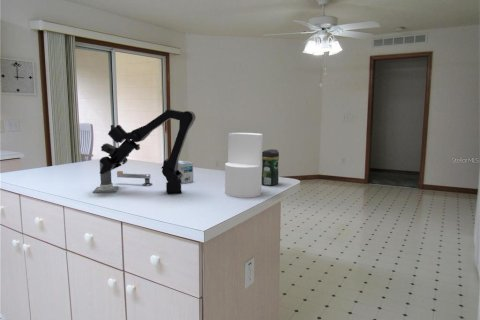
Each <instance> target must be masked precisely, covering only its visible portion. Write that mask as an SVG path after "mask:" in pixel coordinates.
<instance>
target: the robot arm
mask: <svg viewBox="0 0 480 320" xmlns="http://www.w3.org/2000/svg"><path fill="white" fill-rule="evenodd" d="M196 117H197V116H196V114H195V113H194V112H193V111H190V110H186V111H180V110H174V109H172V108H168V109H166V110H164V112H162V113H161V114H160V115H158V116H156V117H155V118H153V119H152V120H151V121H149V122H148V123H147V124H145V125H142V126H140V127H137V128H136V129H132V130H131V131H130V132H128V131H126V130H125V129H124V128H123V127H122V125H120V124H117V125H116V126H114V127H113V128H111V129H110V130H109V131H108V133H107V135H108V136H109V137H110V138H111V139H112V140H113V141H114V142H115V143H116V144H118V143H119V144H120V145H119V146H118V147H116V146H114V145H112V144H110V143H103V144H102V146H100V148H101V152H105V153H107V154H108V156H103V157H101V158H100V159H99V163H100V162H101V163H102V164H103V167H102V169H101V171H100V170H99V175H100V174H103V173H106V172H108V171H110V170H111V171H113V170H115V169H117V168H119V167H121V166H122V165H125V164H126V163H127V162H128V157H129V156H130V154H131V152H132V151H134V150H135V151H139V150H140V149H141V147H140V143H139V142H143V141H145V139H146V138H148V137H149V136H150V134H151V133H152V132H154V130H156V129H158V128H160V126H162V125H164V123H166V122H167V121H169V120H170V119H172V120H176V121H179V122H178V123H179V126H178V127H179V129H178V131H177V135H176V138H175V140H174V143H173V146H172V149H171V153H170V156H169V157H168V158H166V159H164V160H163V162H162V163H163V164H162V166H161V169H162V170H161V173H162V175H163V176H164V177H165V179H166V183H165V188H166V189H165V191H166V194H167V195H172V194H173V195H175V194H176V195H177V194H182V193H183V192H182V183H181V179H180V178H181V177H182V173H181V172H180V171H179V170H178V161H180V160H179V159H180V157H181V152H182V150H183V148H184V144H185V142H186V138H187V135H188V133H189V131H190V129H191V128H192V126H193V124H194V122H195V121H196Z"/></svg>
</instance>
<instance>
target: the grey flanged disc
mask: <svg viewBox="0 0 480 320" xmlns="http://www.w3.org/2000/svg"><path fill="white" fill-rule="evenodd" d="M143 186H144V187H151V186H153V183H152V182H151V178H150V179H144V182H143V183H142V187H143Z"/></svg>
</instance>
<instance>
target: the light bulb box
mask: <svg viewBox="0 0 480 320" xmlns="http://www.w3.org/2000/svg"><path fill="white" fill-rule="evenodd" d="M178 170H179V171H180V172H181V173H182V177H181V178H180V179H181V184H188V183H193V182H194V162H192V161H191V162H190V161H185V160H178Z"/></svg>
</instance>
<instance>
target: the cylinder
mask: <svg viewBox="0 0 480 320" xmlns="http://www.w3.org/2000/svg"><path fill="white" fill-rule="evenodd" d="M227 136H228V137H227V139H228V140H227V145H228V146H227V162H225V163H224V194H225V195H226V196H229V197H233V198H254V197H256V198H257V197H259V196H261V195H262V152H263V137H264V136H263V133H257V132H256V133H255V132H229V133H227Z"/></svg>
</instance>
